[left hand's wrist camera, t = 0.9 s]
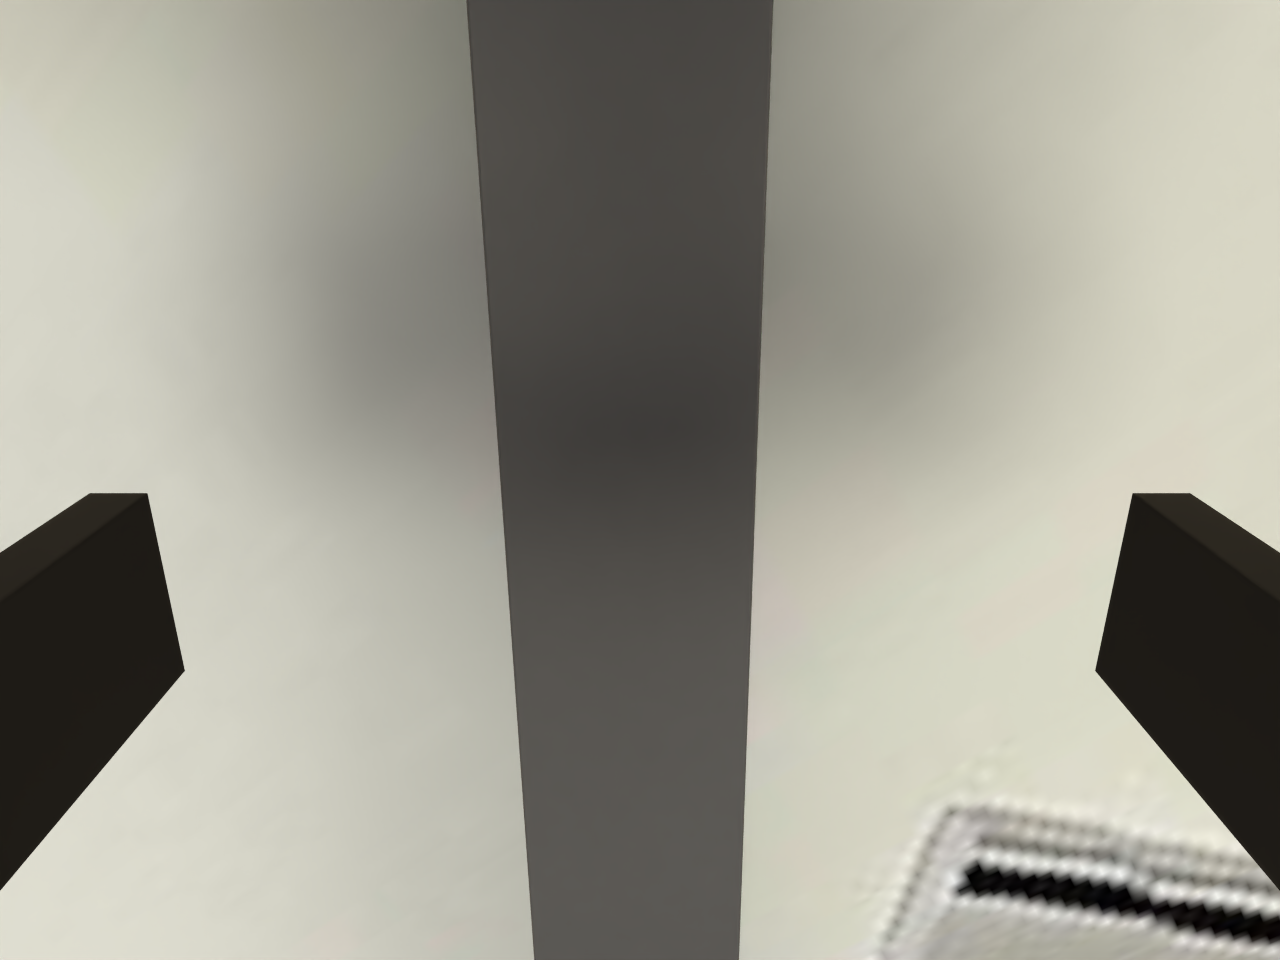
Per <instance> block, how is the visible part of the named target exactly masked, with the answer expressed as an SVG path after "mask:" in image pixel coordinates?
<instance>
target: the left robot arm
mask: <svg viewBox="0 0 1280 960" xmlns="http://www.w3.org/2000/svg"><path fill="white" fill-rule="evenodd" d="M184 671H185V670H184V665H183V660H182V655H181V651H180V646H179V641H178V636H177V632H176V627H175V622H174V617H173V613H172V608H171V603H170V599H169V594H168V589H167V584H166V580H165V575H164V570H163V565H162V561H161V556H160V551H159V546H158V542H157V537H156V532H155V527H154V523H153V518H152V513H151V508H150V504H149V499H148V494H147V493H90V494H88V495H87V496H85V497H84V498H82V499H81V500H79V501H78V502H76V503H75V504H73V505H72V506H70V507H69V508H67V509H65V510H64V511H62V512H61V513H59V514H58V515H56V516H55V517H53V518H52V519H50V520H49V521H47V522H46V523H44V524H43V525H41V526H40V527H38V528H37V529H35V530H34V531H32V532H31V533H29V534H28V535H26V536H25V537H23V538H22V539H20V540H19V541H17V542H16V543H14V544H13V545H11V546H10V547H8V548H7V549H5V550H4V551H2V552H1V553H0V890H1V889H2V888H3V887H4V885H5V884H6V883H7V882H8V881H9V879H10V878H11V877H12V876H13V875H14V874H15V872H16V871H17V870H18V869H19V868H20V866H21V865H22V864H23V863H24V862H25V860H26V859H27V858H28V857H29V856H30V854H31V853H32V852H33V851H34V850H35V849H36V847H37V846H38V845H39V844H40V843H41V841H42V840H43V839H44V838H45V837H46V835H47V834H48V833H49V832H50V831H51V829H52V828H53V827H54V826H55V825H56V824H57V822H58V821H59V820H60V819H61V818H62V816H63V815H64V814H65V813H66V812H67V810H68V809H69V808H70V807H71V806H72V804H73V803H74V802H75V801H76V800H77V798H78V797H79V796H80V795H81V794H82V793H83V791H84V790H85V789H86V788H87V787H88V785H89V784H90V783H91V782H92V781H93V779H94V778H95V777H96V776H97V775H98V773H99V772H100V771H101V770H102V769H103V768H104V766H105V765H106V764H107V763H108V762H109V760H110V759H111V758H112V757H113V756H114V754H115V753H116V752H117V751H118V750H119V748H120V747H121V746H122V745H123V744H124V742H125V741H126V740H127V739H128V738H129V737H130V735H131V734H132V733H133V732H134V731H135V729H136V728H137V727H138V726H139V725H140V723H141V722H142V721H143V720H144V719H145V717H146V716H147V715H148V714H149V713H150V712H151V710H152V709H153V708H154V707H155V706H156V704H157V703H158V702H159V701H160V700H161V698H162V697H163V696H164V695H165V694H166V692H167V691H168V690H169V689H170V688H171V687H172V685H173V684H174V683H175V682H176V681H177V679H178V678H179V677H180V676H181V675H182V673H183V672H184ZM1095 671H1096V672H1097V673H1098V675H1099V676H1100V677H1101V678H1102V679H1103V681H1104V682H1105V683H1106V684H1107V685H1108V687H1109V688H1110V689H1111V690H1112V691H1113V692H1114V694H1115V695H1116V696H1117V697H1118V698H1119V700H1120V701H1121V702H1122V703H1123V704H1124V706H1125V707H1126V708H1127V709H1128V710H1129V712H1130V713H1131V714H1132V715H1133V716H1134V717H1135V719H1136V720H1137V721H1138V722H1139V723H1140V725H1141V726H1142V727H1143V728H1144V729H1145V731H1146V732H1147V733H1148V734H1149V735H1150V737H1151V738H1152V739H1153V740H1154V741H1155V742H1156V744H1157V745H1158V746H1159V747H1160V748H1161V750H1162V751H1163V752H1164V753H1165V754H1166V756H1167V757H1168V758H1169V759H1170V760H1171V762H1172V763H1173V764H1174V765H1175V766H1176V768H1177V769H1178V770H1179V771H1180V772H1181V773H1182V775H1183V776H1184V777H1185V778H1186V779H1187V781H1188V782H1189V783H1190V784H1191V785H1192V787H1193V788H1194V789H1195V790H1196V791H1197V793H1198V794H1199V795H1200V796H1201V797H1202V798H1203V800H1204V801H1205V802H1206V803H1207V804H1208V806H1209V807H1210V808H1211V809H1212V810H1213V812H1214V813H1215V814H1216V815H1217V816H1218V818H1219V819H1220V820H1221V821H1222V822H1223V824H1224V825H1225V826H1226V827H1227V828H1228V829H1229V831H1230V832H1231V833H1232V834H1233V835H1234V837H1235V838H1236V839H1237V840H1238V841H1239V843H1240V844H1241V845H1242V846H1243V847H1244V849H1245V850H1246V851H1247V852H1248V853H1249V854H1250V856H1251V857H1252V858H1253V859H1254V860H1255V862H1256V863H1257V864H1258V865H1259V866H1260V868H1261V869H1262V870H1263V871H1264V872H1265V874H1266V875H1267V876H1268V877H1269V878H1270V879H1271V881H1272V882H1273V883H1274V884H1275V885H1276V887H1277V888H1278V889H1279V890H1280V553H1279V552H1278V551H1276V550H1275V549H1273V548H1272V547H1270V546H1269V545H1267V544H1266V543H1264V542H1263V541H1261V540H1260V539H1258V538H1257V537H1255V536H1254V535H1252V534H1251V533H1249V532H1248V531H1246V530H1245V529H1243V528H1242V527H1240V526H1239V525H1237V524H1236V523H1234V522H1233V521H1231V520H1230V519H1228V518H1227V517H1225V516H1224V515H1222V514H1221V513H1219V512H1218V511H1216V510H1215V509H1213V508H1211V507H1210V506H1208V505H1207V504H1205V503H1204V502H1202V501H1201V500H1199V499H1198V498H1196V497H1195V496H1193V495H1192V494H1190V493H1133V494H1132V499H1131V504H1130V508H1129V513H1128V518H1127V523H1126V527H1125V532H1124V537H1123V542H1122V546H1121V551H1120V556H1119V561H1118V565H1117V570H1116V575H1115V580H1114V584H1113V589H1112V594H1111V599H1110V603H1109V608H1108V613H1107V617H1106V622H1105V627H1104V632H1103V636H1102V641H1101V646H1100V651H1099V655H1098V660H1097V665H1096V670H1095Z"/></svg>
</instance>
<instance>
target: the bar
mask: <svg viewBox="0 0 1280 960" xmlns="http://www.w3.org/2000/svg"><path fill="white" fill-rule="evenodd" d="M467 14H468V28H469V43H470V57H471V71H472V85H473V99H474V113H475V127H476V142H477V156H478V170H479V184H480V198H481V212H482V226H483V240H484V255H485V269H486V283H487V297H488V311H489V325H490V339H491V353H492V368H493V382H494V396H495V410H496V424H497V438H498V452H499V466H500V481H501V495H502V509H503V523H504V537H505V551H506V565H507V580H508V594H509V608H510V622H511V636H512V650H513V664H514V678H515V693H516V707H517V721H518V735H519V749H520V763H521V777H522V791H523V806H524V820H525V834H526V848H527V862H528V876H529V890H530V904H531V919H532V933H533V947H534V960H739V940H740V913H741V885H742V857H743V829H744V801H745V773H746V745H747V717H748V689H749V661H750V634H751V606H752V578H753V550H754V522H755V494H756V466H757V438H758V410H759V383H760V355H761V327H762V299H763V271H764V243H765V215H766V187H767V159H768V131H769V104H770V76H771V48H772V20H773V0H467Z"/></svg>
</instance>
